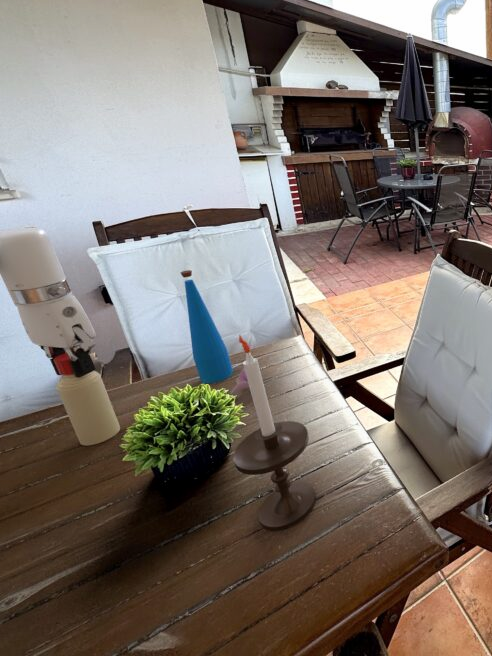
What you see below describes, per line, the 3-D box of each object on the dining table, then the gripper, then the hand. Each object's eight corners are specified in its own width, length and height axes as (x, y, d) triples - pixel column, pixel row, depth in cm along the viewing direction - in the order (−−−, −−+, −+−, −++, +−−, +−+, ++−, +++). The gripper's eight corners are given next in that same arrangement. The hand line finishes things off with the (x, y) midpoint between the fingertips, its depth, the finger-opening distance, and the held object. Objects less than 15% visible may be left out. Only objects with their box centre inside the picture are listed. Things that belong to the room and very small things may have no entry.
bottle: (217, 385, 105) (185, 277, 95) (193, 382, 106) (160, 275, 96) (239, 369, 112) (212, 267, 102) (217, 367, 113) (188, 265, 103)
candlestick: (238, 523, 69) (180, 346, 57) (290, 475, 78) (250, 314, 66) (285, 545, 65) (234, 360, 53) (334, 491, 75) (300, 325, 63)
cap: (89, 368, 83) (84, 355, 82) (60, 377, 80) (54, 363, 79) (87, 361, 85) (81, 348, 84) (58, 370, 82) (52, 356, 81)
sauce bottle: (72, 448, 84) (37, 369, 78) (90, 428, 90) (59, 353, 83) (111, 441, 86) (80, 363, 80) (126, 422, 92) (98, 348, 86)
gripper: (99, 287, 79) (129, 366, 85) (31, 282, 82) (65, 359, 88) (52, 303, 72) (89, 387, 78) (-20, 296, 75) (21, 379, 81)
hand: (76, 371), depth 83 cm, fingers closed on cap, 4 cm apart
